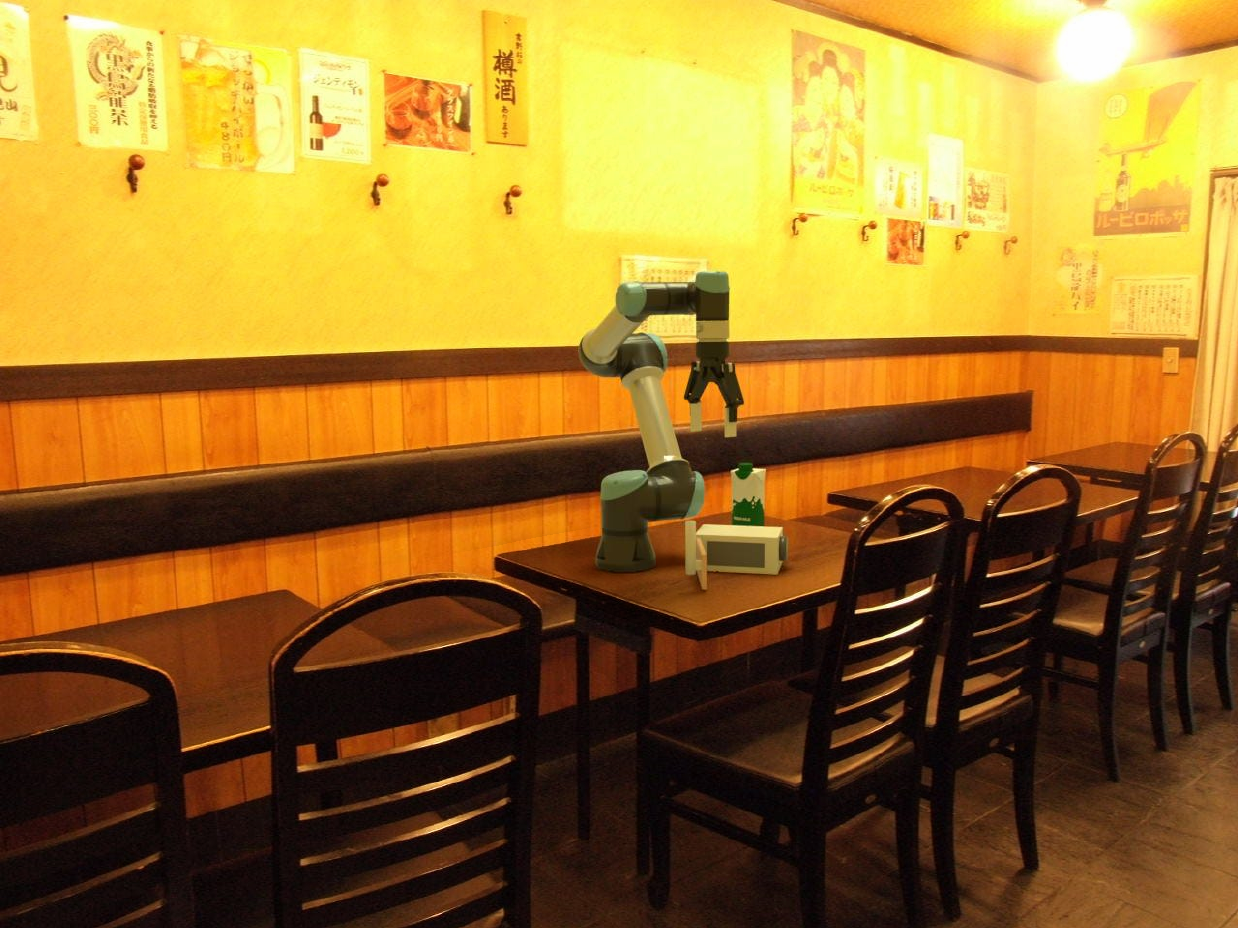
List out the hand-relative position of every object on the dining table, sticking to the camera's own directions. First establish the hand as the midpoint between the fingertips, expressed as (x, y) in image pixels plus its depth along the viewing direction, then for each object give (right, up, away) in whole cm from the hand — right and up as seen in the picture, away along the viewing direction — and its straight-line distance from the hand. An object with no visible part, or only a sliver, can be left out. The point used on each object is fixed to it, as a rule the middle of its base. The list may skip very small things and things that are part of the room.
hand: (712, 434), depth 225 cm
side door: (-4, -34, +5) cm, 35 cm away
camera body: (+8, -32, +18) cm, 38 cm away
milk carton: (+16, -26, +57) cm, 64 cm away
